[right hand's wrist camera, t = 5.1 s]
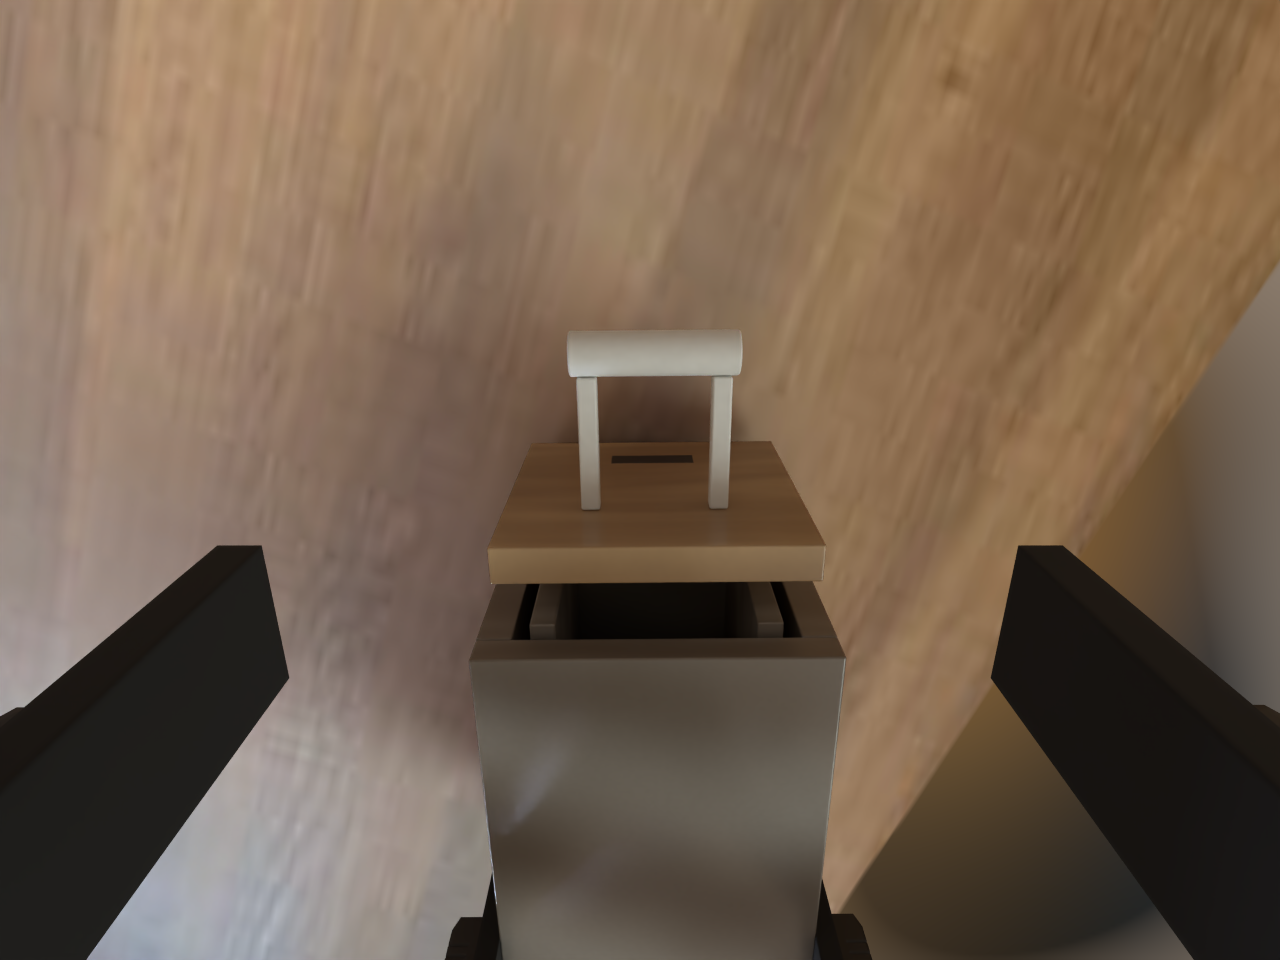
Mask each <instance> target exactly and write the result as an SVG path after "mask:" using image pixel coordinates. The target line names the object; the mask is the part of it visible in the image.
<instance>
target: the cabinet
mask: <svg viewBox="0 0 1280 960" xmlns="http://www.w3.org/2000/svg"><path fill="white" fill-rule="evenodd" d="M770 584H771V587H772V590H773V593H774V596H775V599H776V602H777V605H778V608H779V611H780V614H781V616H782V619H783V622H784V626H783V638H699V639H584V640H530V627H529V625H530V621H531V617H532V613H533V609H534V605H535V601H536V597H537V593H538V589H539V585H540V584H496V587H495V589H494V592H493V595H492V598H491V600H490V603H489V606H488V609H487V612H486V614H485V617H484V620H483V623H482V625H481V628H480V631H479V634H478V636H477V639H476V643H475V646H474V648H473V651H472V654H471V657H470V660H469V667H470V676H471V685H472V694H473V703H474V712H475V721H476V730H477V739H478V748H479V757H480V766H481V774H482V783H483V792H484V801H485V810H486V819H487V828H488V837H489V846H490V855H491V864H492V873H493V882H494V891H495V900H496V909H497V918H498V927H499V936H500V944H501V953H502V960H813V953H814V944H815V935H816V927H817V918H818V909H819V900H820V891H821V882H822V873H823V864H824V855H825V846H826V837H827V828H828V819H829V810H830V801H831V791H832V782H833V773H834V764H835V755H836V746H837V737H838V728H839V719H840V710H841V701H842V692H843V683H844V674H845V665H846V656H845V654H844V652H843V649H842V647H841V645H840V643H839V640H838V638H837V635H836V633H835V631H834V628H833V626H832V624H831V622H830V620H829V617H828V615H827V613H826V611H825V608H824V606H823V604H822V602H821V599H820V597H819V595H818V593H817V590H816V588H815V586H814V584H813V581H776V582H770Z"/></svg>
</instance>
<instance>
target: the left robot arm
mask: <svg viewBox="0 0 1280 960" xmlns="http://www.w3.org/2000/svg"><path fill="white" fill-rule="evenodd" d="M445 960H502V953H501V944H500V936H499V927H498V918H497V909H496V900H495V891H494V882H493V873H492V876H491V881H490V885H489V890H488V895H487V899H486V904H485V908H484V913H483V917H461V918H460V920H459V921H458V922H457V924H456V925H455V927H454V928H453V930H452V933H451V937H450V941H449V947H448V949H447V953H446V958H445ZM813 960H872V957H871V954H870V951H869V947H868V944H867V942H866V937H865V934H864V931H863V927H862V926H861V924H860V923H859V921H858V920H857V919H856V917H855V916H854V915H853V914H831V910H830V906H829V903H828V899H827V895H826V891H825V887H824V884H823V880H822V882H821V891H820V900H819V909H818V918H817V927H816V935H815V944H814V953H813Z"/></svg>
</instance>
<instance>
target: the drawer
mask: <svg viewBox="0 0 1280 960" xmlns="http://www.w3.org/2000/svg"><path fill="white" fill-rule="evenodd" d="M567 363H568V372H569V375H570V376H571V377H577V379H576V388H577V412H578V436H579V443H533V444H531V446H530V449H529V451H528V454H527V456H526V458H525V461H524V463H523V465H522V468H521V470H520V472H519V475H518V477H517V480H516V482H515V484H514V487H513V489H512V491H511V494H510V496H509V498H508V501H507V503H506V506H505V508H504V510H503V513H502V515H501V517H500V520H499V522H498V524H497V527H496V529H495V532H494V534H493V536H492V539H491V541H490V543H489V546H488V548H487V553H488V564H489V574H490V583H491V584H540V585H539V589H538V593H537V597H536V601H535V605H534V609H533V613H532V617H531V621H530V625H529V627H530V640H584V639H699V638H783V626H784V622H783V619H782V616H781V614H780V611H779V608H778V605H777V602H776V599H775V596H774V593H773V590H772V587H771V584H770V582H776V581H823V575H824V564H825V554H826V544H825V542H824V541H823V539H822V537H821V535H820V533H819V531H818V529H817V527H816V525H815V524H814V522H813V520H812V518H811V516H810V514H809V512H808V510H807V508H806V507H805V505H804V503H803V501H802V499H801V497H800V495H799V493H798V491H797V490H796V488H795V486H794V484H793V482H792V480H791V478H790V476H789V474H788V473H787V471H786V469H785V467H784V465H783V463H782V461H781V459H780V457H779V456H778V454H777V452H776V450H775V448H774V446H773V444H772V442H771V441H750V442H730V441H731V415H732V388H733V378H732V376H731V375H739V374H740V371H741V366H742V335H741V331H740V330H739V329H701V330H594V331H569V332H568V336H567ZM608 376H711V412H710V442H640V443H599V426H598V394H597V377H608Z"/></svg>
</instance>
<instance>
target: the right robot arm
mask: <svg viewBox="0 0 1280 960" xmlns="http://www.w3.org/2000/svg"><path fill="white" fill-rule="evenodd" d="M288 679H289V675H288V670H287V665H286V660H285V655H284V651H283V646H282V641H281V636H280V631H279V627H278V622H277V617H276V612H275V608H274V603H273V598H272V593H271V588H270V584H269V579H268V574H267V569H266V564H265V560H264V555H263V550H262V546H216V547H215V548H214V549H213V550H211V551H210V552H209V553H208V554H207V555H206V556H204V557H203V558H202V559H201V560H200V561H198V562H197V563H196V564H195V565H194V566H192V567H191V568H190V569H189V570H188V571H186V572H185V573H184V574H183V575H182V576H180V577H179V578H178V579H177V580H176V581H174V582H173V583H172V584H171V585H170V586H169V587H167V588H166V589H165V590H164V591H163V592H161V593H160V594H159V595H158V596H157V597H155V598H154V599H153V600H152V601H151V602H149V603H148V604H147V605H146V606H145V607H143V608H142V609H141V610H140V611H139V612H138V613H136V614H135V615H134V616H133V617H132V618H130V619H129V620H128V621H127V622H126V623H124V624H123V625H122V626H121V627H120V628H118V629H117V630H116V631H115V632H114V633H112V634H111V635H110V636H109V637H108V638H106V639H105V640H104V641H103V642H102V643H101V644H99V645H98V646H97V647H96V648H95V649H93V650H92V651H91V652H90V653H89V654H87V655H86V656H85V657H84V658H83V659H81V660H80V661H79V662H78V663H77V664H75V665H74V666H73V667H72V668H71V669H69V670H68V671H67V672H66V673H65V674H64V675H62V676H61V677H60V678H59V679H58V680H56V681H55V682H54V683H53V684H52V685H50V686H49V687H48V688H47V689H46V690H44V691H43V692H42V693H41V694H40V695H38V696H37V697H36V698H35V699H34V700H33V701H31V702H30V703H29V704H28V705H27V706H25V707H17V708H15V709H13V710H11V711H9V712H8V713H6V714H4V715H2V716H0V960H86V959H87V958H88V956H89V955H90V954H91V952H92V951H93V949H94V948H95V947H96V945H97V944H98V943H99V941H100V940H101V938H102V937H103V936H104V934H105V933H106V931H107V930H108V929H109V927H110V926H111V924H112V923H113V922H114V920H115V919H116V918H117V916H118V915H119V913H120V912H121V911H122V909H123V908H124V906H125V905H126V904H127V902H128V901H129V899H130V898H131V897H132V895H133V894H134V893H135V891H136V890H137V888H138V887H139V886H140V884H141V883H142V881H143V880H144V879H145V877H146V876H147V875H148V873H149V872H150V870H151V869H152V868H153V866H154V865H155V863H156V862H157V861H158V859H159V858H160V856H161V855H162V854H163V852H164V851H165V850H166V848H167V847H168V845H169V844H170V843H171V841H172V840H173V838H174V837H175V836H176V834H177V833H178V832H179V830H180V829H181V827H182V826H183V825H184V823H185V822H186V820H187V819H188V818H189V816H190V815H191V813H192V812H193V811H194V809H195V808H196V807H197V805H198V804H199V802H200V801H201V800H202V798H203V797H204V795H205V794H206V793H207V791H208V790H209V789H210V787H211V786H212V784H213V783H214V782H215V780H216V779H217V777H218V776H219V775H220V773H221V772H222V770H223V769H224V768H225V766H226V765H227V764H228V762H229V761H230V759H231V758H232V757H233V755H234V754H235V752H236V751H237V750H238V748H239V747H240V746H241V744H242V743H243V741H244V740H245V739H246V737H247V736H248V734H249V733H250V732H251V730H252V729H253V727H254V726H255V725H256V723H257V722H258V721H259V719H260V718H261V716H262V715H263V714H264V712H265V711H266V709H267V708H268V707H269V705H270V704H271V703H272V701H273V700H274V698H275V697H276V696H277V694H278V693H279V691H280V690H281V689H282V687H283V686H284V684H285V683H286V682H287V680H288ZM991 679H992V680H993V682H994V683H995V684H996V686H997V687H998V689H999V690H1000V691H1001V693H1002V694H1003V696H1004V697H1005V698H1006V700H1007V701H1008V703H1009V704H1010V705H1011V707H1012V708H1013V709H1014V711H1015V712H1016V714H1017V715H1018V716H1019V718H1020V719H1021V721H1022V722H1023V723H1024V725H1025V726H1026V727H1027V729H1028V730H1029V732H1030V733H1031V734H1032V736H1033V737H1034V739H1035V740H1036V741H1037V743H1038V744H1039V746H1040V747H1041V748H1042V750H1043V751H1044V752H1045V754H1046V755H1047V757H1048V758H1049V759H1050V761H1051V762H1052V764H1053V765H1054V766H1055V768H1056V769H1057V770H1058V772H1059V773H1060V775H1061V776H1062V777H1063V779H1064V780H1065V781H1066V783H1067V784H1068V786H1069V787H1070V789H1071V790H1072V791H1073V793H1074V794H1075V795H1076V797H1077V798H1078V800H1079V801H1080V802H1081V804H1082V805H1083V807H1084V808H1085V809H1086V811H1087V812H1088V813H1089V815H1090V816H1091V818H1092V819H1093V820H1094V822H1095V823H1096V825H1097V826H1098V827H1099V829H1100V830H1101V831H1102V833H1103V834H1104V836H1105V837H1106V838H1107V840H1108V841H1109V843H1110V844H1111V845H1112V847H1113V848H1114V849H1115V851H1116V852H1117V854H1118V855H1119V856H1120V858H1121V859H1122V861H1123V862H1124V863H1125V865H1126V866H1127V868H1128V869H1129V870H1130V872H1131V873H1132V874H1133V876H1134V877H1135V879H1136V880H1137V881H1138V883H1139V884H1140V886H1141V887H1142V888H1143V890H1144V891H1145V893H1146V894H1147V895H1148V897H1149V898H1150V899H1151V901H1152V902H1153V904H1154V905H1155V906H1156V908H1157V909H1158V911H1159V912H1160V913H1161V915H1162V916H1163V918H1164V919H1165V920H1166V922H1167V923H1168V924H1169V926H1170V927H1171V929H1172V930H1173V931H1174V933H1175V934H1176V935H1177V937H1178V938H1179V940H1180V941H1181V943H1182V944H1183V945H1184V947H1185V948H1186V949H1187V951H1188V952H1189V954H1190V955H1191V956H1192V958H1193V959H1194V960H1280V713H1278V712H1276V711H1274V710H1273V709H1271V708H1269V707H1267V706H1265V705H1252V704H1251V703H1250V702H1249V701H1247V700H1246V699H1245V698H1244V697H1243V696H1242V695H1240V694H1239V693H1238V692H1237V691H1236V690H1234V689H1233V688H1232V687H1231V686H1230V685H1228V684H1227V683H1226V682H1225V681H1224V680H1222V679H1221V678H1220V677H1219V676H1218V675H1216V674H1215V673H1214V672H1213V671H1212V670H1211V669H1209V668H1208V667H1207V666H1206V665H1204V664H1203V663H1202V662H1201V661H1200V660H1199V659H1197V658H1196V657H1195V656H1194V655H1193V654H1191V653H1190V652H1189V651H1188V650H1187V649H1185V648H1184V647H1183V646H1182V645H1181V644H1179V643H1178V642H1177V641H1176V640H1175V639H1173V638H1172V637H1171V636H1170V635H1169V634H1168V633H1166V632H1165V631H1164V630H1163V629H1162V628H1160V627H1159V626H1158V625H1157V624H1156V623H1154V622H1153V621H1152V620H1151V619H1150V618H1148V617H1147V616H1146V615H1145V614H1144V613H1142V612H1141V611H1140V610H1139V609H1138V608H1137V607H1135V606H1134V605H1133V604H1132V603H1130V602H1129V601H1128V600H1127V599H1126V598H1125V597H1123V596H1122V595H1121V594H1120V593H1119V592H1117V591H1116V590H1115V589H1114V588H1113V587H1111V586H1110V585H1109V584H1108V583H1107V582H1105V581H1104V580H1103V579H1102V578H1101V577H1100V576H1098V575H1097V574H1096V573H1095V572H1094V571H1092V570H1091V569H1090V568H1089V567H1088V566H1086V565H1085V564H1084V563H1083V562H1082V561H1080V560H1079V559H1078V558H1077V557H1076V556H1074V555H1073V554H1072V553H1071V552H1070V551H1069V550H1067V549H1066V548H1065V547H1064V546H1018V550H1017V555H1016V560H1015V564H1014V569H1013V574H1012V579H1011V584H1010V588H1009V593H1008V598H1007V603H1006V608H1005V612H1004V617H1003V622H1002V627H1001V631H1000V636H999V641H998V646H997V651H996V655H995V660H994V665H993V670H992V675H991Z"/></svg>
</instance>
